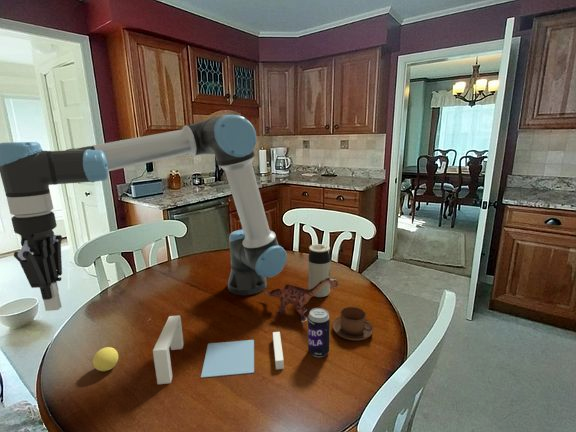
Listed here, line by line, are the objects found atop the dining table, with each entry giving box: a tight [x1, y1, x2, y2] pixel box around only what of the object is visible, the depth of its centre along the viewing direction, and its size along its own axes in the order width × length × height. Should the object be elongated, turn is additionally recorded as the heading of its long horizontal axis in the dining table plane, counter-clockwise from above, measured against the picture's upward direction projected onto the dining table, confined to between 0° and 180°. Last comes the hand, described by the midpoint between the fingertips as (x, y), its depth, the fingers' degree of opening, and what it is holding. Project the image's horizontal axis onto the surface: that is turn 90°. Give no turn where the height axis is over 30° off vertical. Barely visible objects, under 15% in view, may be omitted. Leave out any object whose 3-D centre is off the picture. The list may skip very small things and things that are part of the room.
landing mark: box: [200, 339, 255, 379], centre depth 83 cm, size 13×13×1 cm
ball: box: [92, 346, 119, 372], centre depth 79 cm, size 6×6×6 cm
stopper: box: [272, 331, 285, 370], centre depth 84 cm, size 2×12×2 cm, turn 6°
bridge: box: [152, 315, 185, 385], centre depth 81 cm, size 3×15×9 cm, turn 6°
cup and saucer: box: [331, 306, 374, 341], centre depth 93 cm, size 12×12×6 cm
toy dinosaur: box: [263, 277, 340, 323], centre depth 102 cm, size 8×30×15 cm, turn 63°
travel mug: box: [308, 243, 331, 298], centre depth 115 cm, size 8×8×18 cm
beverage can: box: [307, 307, 331, 358], centre depth 83 cm, size 6×6×12 cm
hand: (53, 308), depth 75 cm, fingers closed
